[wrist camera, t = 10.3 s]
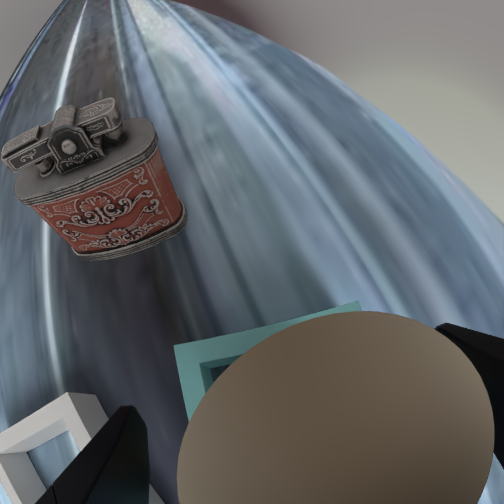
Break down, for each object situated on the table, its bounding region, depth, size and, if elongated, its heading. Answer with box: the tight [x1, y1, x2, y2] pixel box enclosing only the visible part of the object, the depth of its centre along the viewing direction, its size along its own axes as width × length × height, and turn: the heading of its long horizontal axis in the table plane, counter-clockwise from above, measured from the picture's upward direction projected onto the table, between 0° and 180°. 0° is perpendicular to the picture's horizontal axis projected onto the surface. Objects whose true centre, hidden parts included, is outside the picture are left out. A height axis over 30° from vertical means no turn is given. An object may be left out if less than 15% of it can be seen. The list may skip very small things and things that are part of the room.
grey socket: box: [0, 392, 165, 504], centre depth 11 cm, size 9×9×3 cm
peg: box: [177, 311, 494, 504], centre depth 9 cm, size 4×4×13 cm
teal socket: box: [173, 301, 361, 421], centre depth 13 cm, size 9×9×3 cm
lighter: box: [1, 98, 187, 261], centre depth 15 cm, size 8×3×10 cm, turn 106°
